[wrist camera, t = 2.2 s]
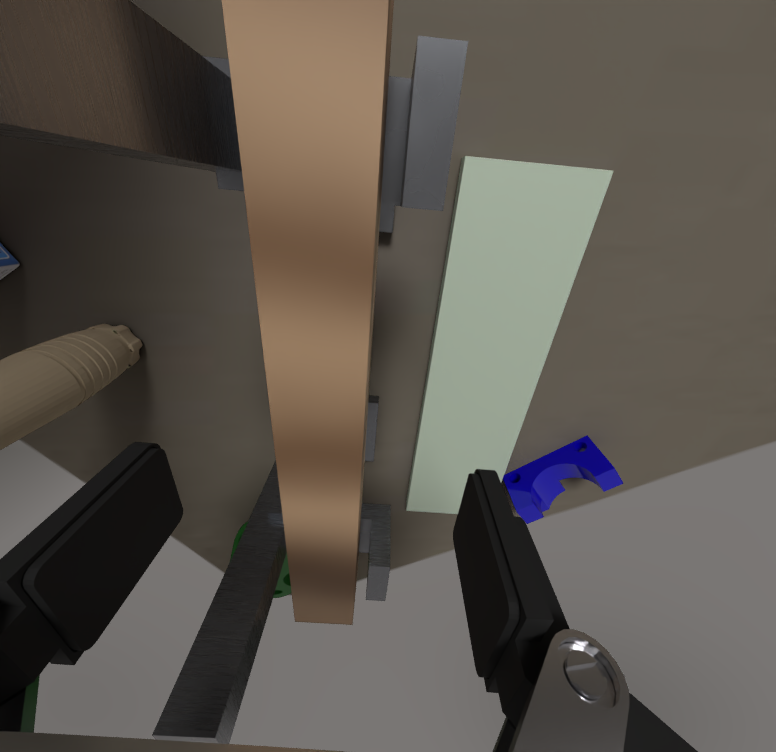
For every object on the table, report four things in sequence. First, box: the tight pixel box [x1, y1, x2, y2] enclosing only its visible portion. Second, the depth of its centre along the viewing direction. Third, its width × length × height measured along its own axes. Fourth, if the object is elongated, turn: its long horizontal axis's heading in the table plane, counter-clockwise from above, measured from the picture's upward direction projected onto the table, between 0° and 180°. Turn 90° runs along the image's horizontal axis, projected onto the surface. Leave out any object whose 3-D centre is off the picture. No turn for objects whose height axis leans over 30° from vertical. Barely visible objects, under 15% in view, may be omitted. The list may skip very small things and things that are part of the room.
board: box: [406, 156, 613, 514], centre depth 24 cm, size 28×8×1 cm, turn 175°
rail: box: [222, 0, 394, 625], centre depth 12 cm, size 24×3×3 cm, turn 175°
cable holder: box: [503, 436, 623, 524], centre depth 27 cm, size 8×4×4 cm, turn 128°
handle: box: [0, 324, 142, 450], centre depth 17 cm, size 5×6×15 cm
